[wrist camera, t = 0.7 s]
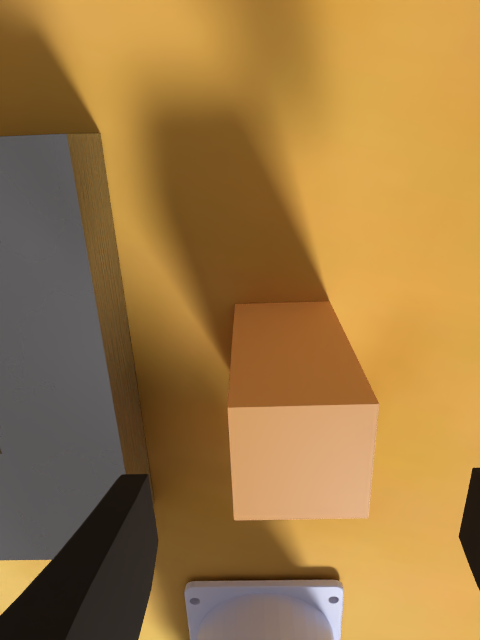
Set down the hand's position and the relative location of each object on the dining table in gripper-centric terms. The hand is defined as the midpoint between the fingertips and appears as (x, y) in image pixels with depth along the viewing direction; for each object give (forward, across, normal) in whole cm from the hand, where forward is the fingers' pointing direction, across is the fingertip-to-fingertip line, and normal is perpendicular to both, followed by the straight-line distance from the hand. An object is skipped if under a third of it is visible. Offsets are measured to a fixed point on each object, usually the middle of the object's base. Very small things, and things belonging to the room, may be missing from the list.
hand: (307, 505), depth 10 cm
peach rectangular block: (+8, 0, 0) cm, 8 cm away
